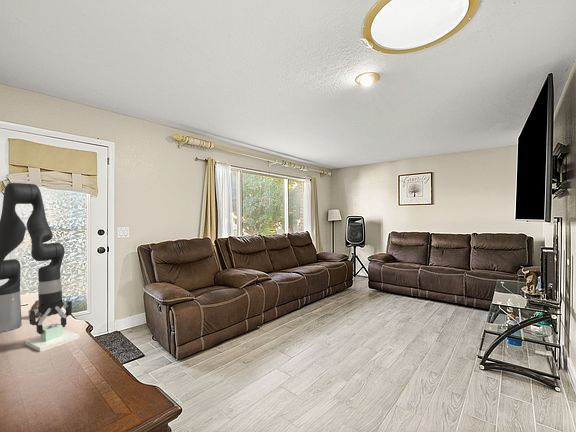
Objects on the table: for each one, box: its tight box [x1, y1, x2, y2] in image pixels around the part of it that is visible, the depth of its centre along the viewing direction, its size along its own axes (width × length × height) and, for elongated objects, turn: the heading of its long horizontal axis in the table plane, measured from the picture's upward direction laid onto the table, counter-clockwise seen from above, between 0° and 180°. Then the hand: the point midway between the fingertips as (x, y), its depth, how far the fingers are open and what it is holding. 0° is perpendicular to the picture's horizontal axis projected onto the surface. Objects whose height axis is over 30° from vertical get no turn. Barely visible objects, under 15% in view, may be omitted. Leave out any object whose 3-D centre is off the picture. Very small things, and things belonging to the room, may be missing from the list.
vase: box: [30, 299, 41, 319], centre depth 150 cm, size 7×7×9 cm
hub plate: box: [24, 323, 80, 353], centre depth 116 cm, size 16×13×7 cm
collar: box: [40, 323, 64, 342], centre depth 116 cm, size 6×6×4 cm
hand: (52, 330), depth 116 cm, fingers open, 7 cm apart
